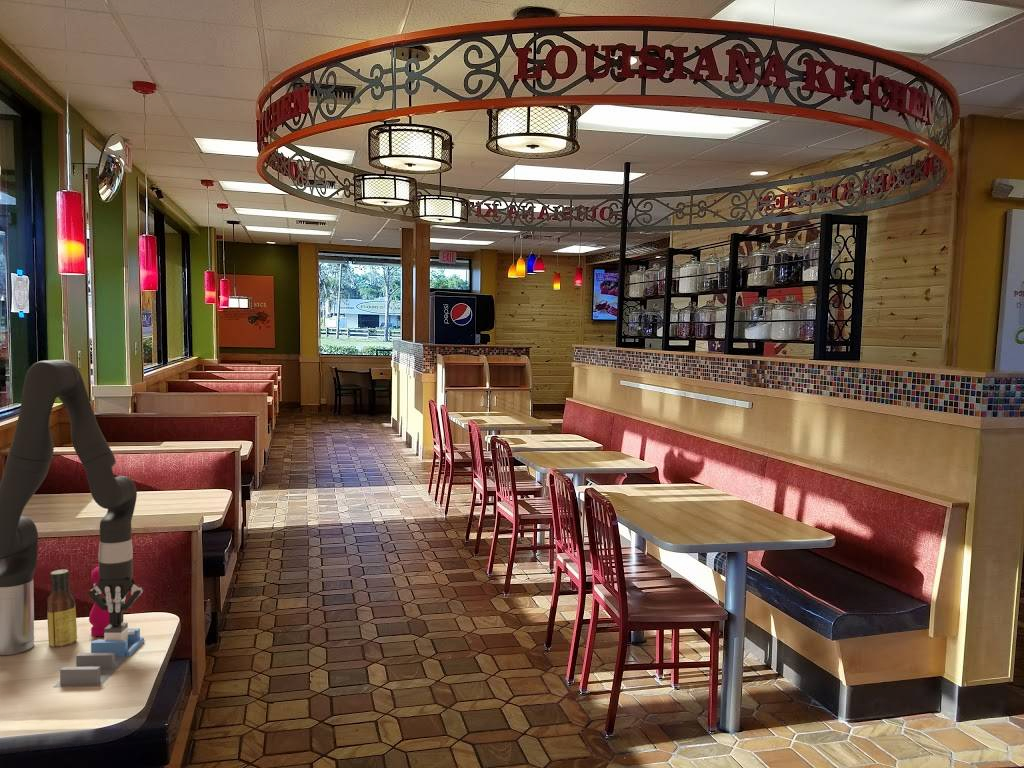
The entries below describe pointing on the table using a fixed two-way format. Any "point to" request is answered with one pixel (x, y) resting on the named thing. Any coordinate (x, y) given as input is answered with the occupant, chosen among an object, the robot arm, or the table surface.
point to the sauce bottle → (61, 611)
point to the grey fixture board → (100, 661)
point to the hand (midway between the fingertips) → (116, 625)
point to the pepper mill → (98, 611)
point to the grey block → (116, 632)
